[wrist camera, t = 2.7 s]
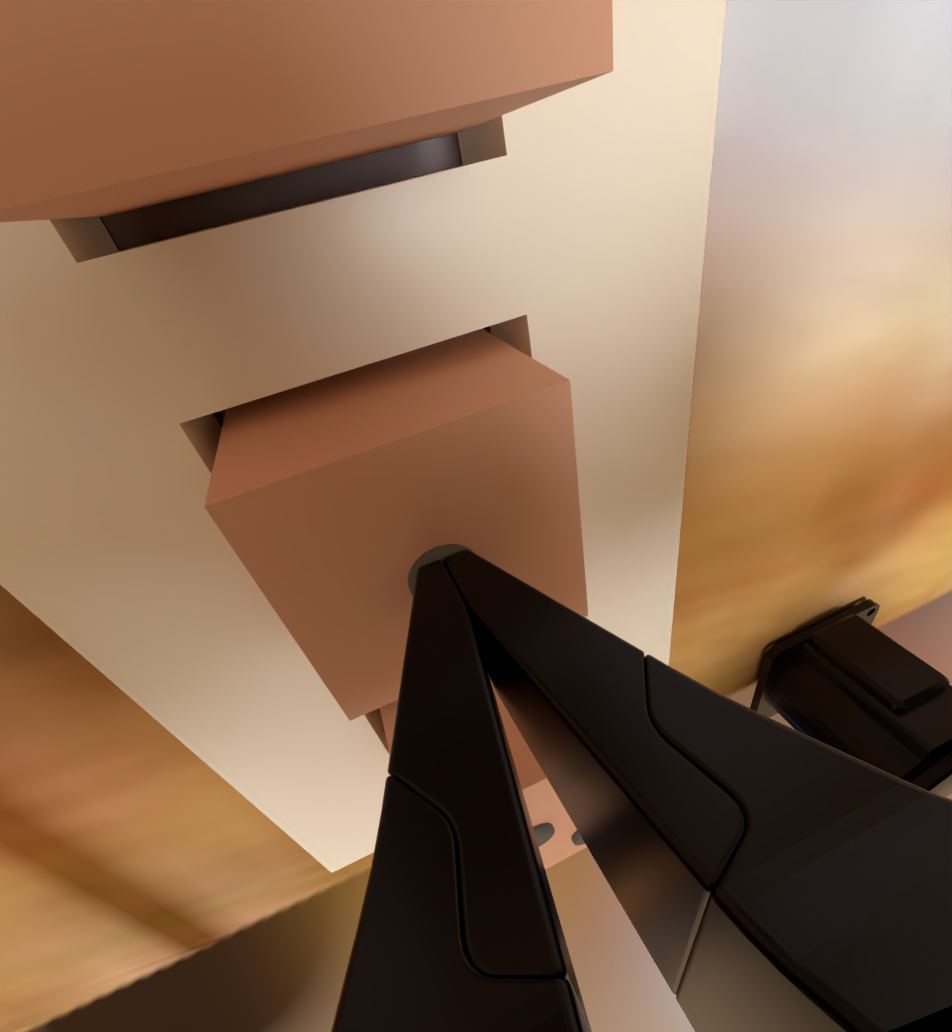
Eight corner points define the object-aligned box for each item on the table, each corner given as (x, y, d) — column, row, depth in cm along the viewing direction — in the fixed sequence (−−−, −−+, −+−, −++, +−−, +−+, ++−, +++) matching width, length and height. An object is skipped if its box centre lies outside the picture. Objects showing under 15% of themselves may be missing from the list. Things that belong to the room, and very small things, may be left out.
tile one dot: (509, 514, 13) (591, 618, 9) (329, 584, 12) (350, 725, 9) (473, 323, 10) (573, 381, 6) (228, 400, 9) (203, 510, 6)
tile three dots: (557, 709, 17) (626, 830, 13) (423, 772, 16) (462, 918, 12) (541, 616, 14) (625, 744, 10) (375, 688, 13) (410, 851, 9)
